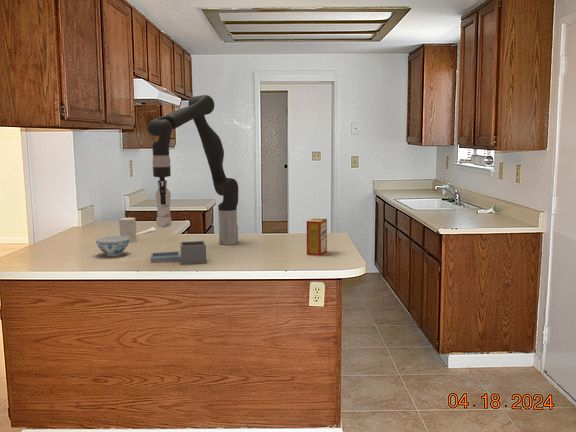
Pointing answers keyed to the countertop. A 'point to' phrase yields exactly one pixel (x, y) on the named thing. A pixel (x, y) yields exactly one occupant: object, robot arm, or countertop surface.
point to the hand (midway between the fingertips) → (163, 203)
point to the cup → (128, 228)
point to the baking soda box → (316, 236)
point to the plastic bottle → (163, 210)
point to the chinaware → (112, 244)
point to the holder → (193, 252)
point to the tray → (165, 257)
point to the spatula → (146, 231)
